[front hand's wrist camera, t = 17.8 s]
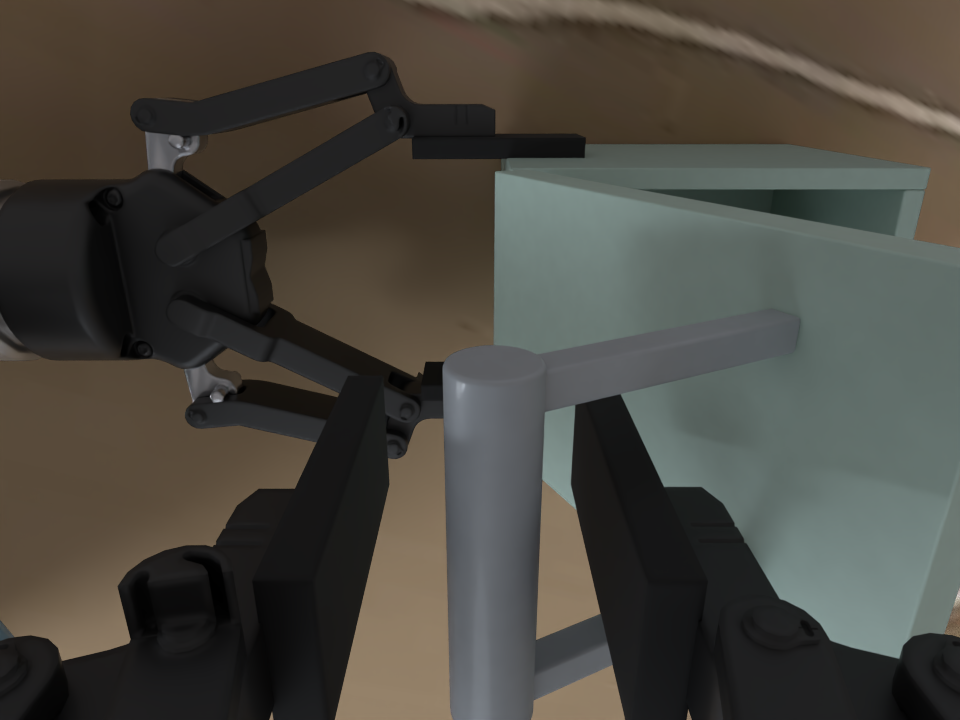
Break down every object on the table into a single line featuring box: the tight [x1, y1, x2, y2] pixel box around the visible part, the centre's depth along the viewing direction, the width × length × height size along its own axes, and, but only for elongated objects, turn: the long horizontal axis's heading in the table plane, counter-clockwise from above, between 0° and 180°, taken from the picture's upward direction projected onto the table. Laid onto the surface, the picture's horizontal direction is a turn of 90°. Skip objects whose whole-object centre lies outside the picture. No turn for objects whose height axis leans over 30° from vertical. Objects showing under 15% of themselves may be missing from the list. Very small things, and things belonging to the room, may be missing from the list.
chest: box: [501, 144, 931, 239], centre depth 29 cm, size 14×9×11 cm
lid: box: [443, 169, 960, 720], centre depth 16 cm, size 15×9×8 cm
